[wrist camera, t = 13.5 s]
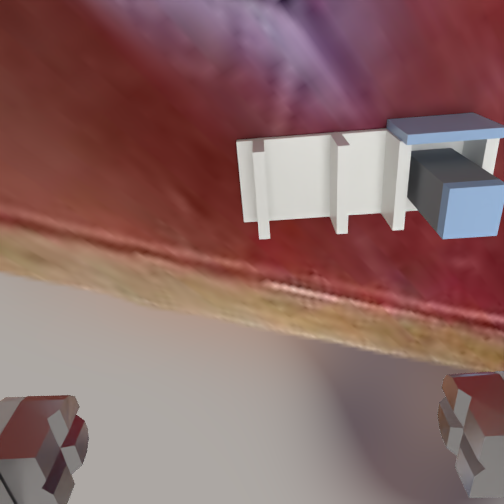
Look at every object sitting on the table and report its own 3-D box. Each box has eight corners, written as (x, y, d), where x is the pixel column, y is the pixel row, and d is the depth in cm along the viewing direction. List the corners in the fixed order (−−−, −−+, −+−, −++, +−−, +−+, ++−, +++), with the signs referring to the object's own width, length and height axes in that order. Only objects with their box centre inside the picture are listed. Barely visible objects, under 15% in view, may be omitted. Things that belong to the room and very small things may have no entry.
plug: (402, 192, 41) (442, 239, 32) (406, 151, 39) (450, 188, 31) (445, 189, 41) (497, 235, 32) (451, 147, 39) (507, 184, 30)
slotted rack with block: (244, 219, 44) (242, 246, 38) (235, 131, 39) (232, 148, 34) (476, 203, 43) (507, 228, 37) (492, 111, 38) (530, 125, 33)
